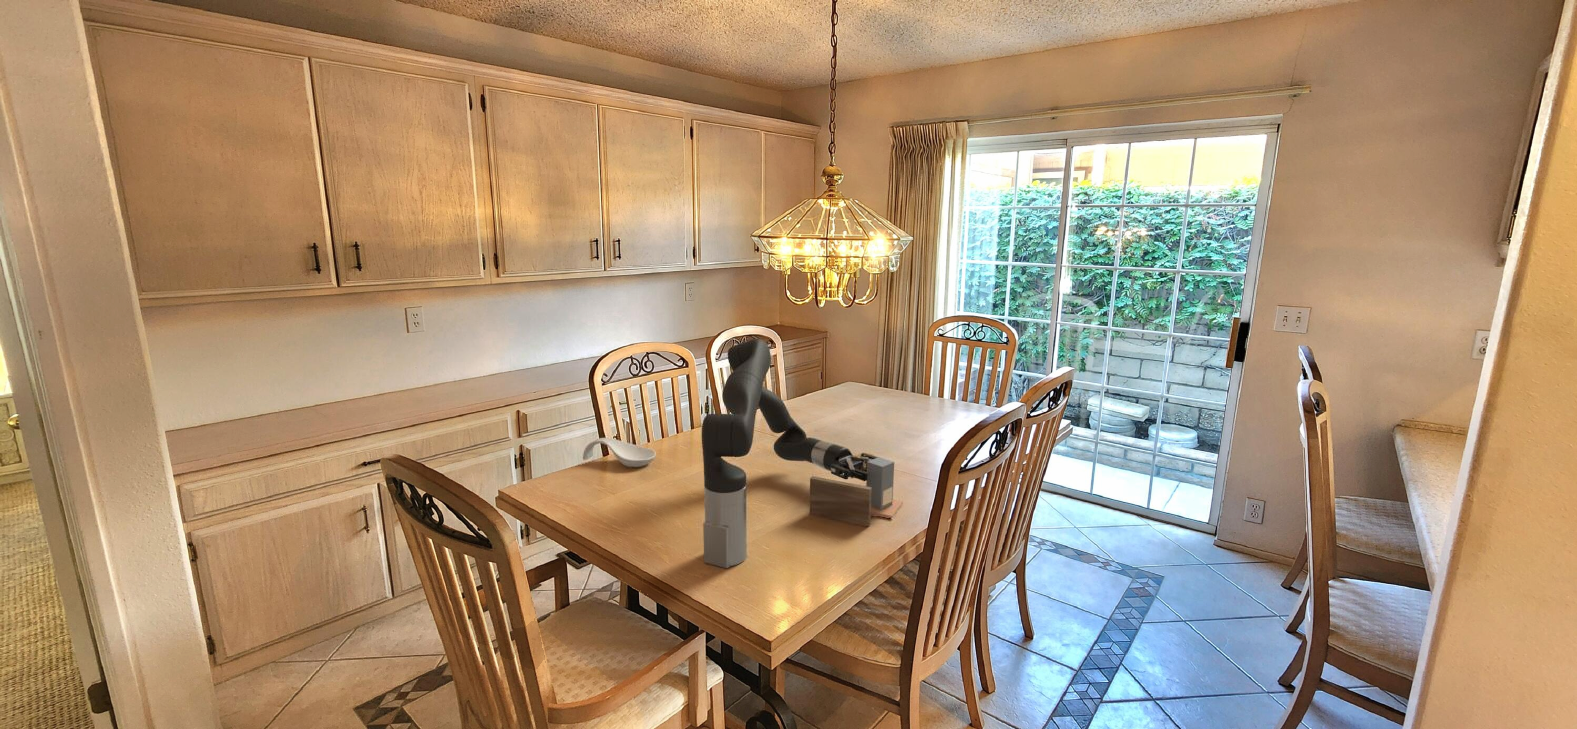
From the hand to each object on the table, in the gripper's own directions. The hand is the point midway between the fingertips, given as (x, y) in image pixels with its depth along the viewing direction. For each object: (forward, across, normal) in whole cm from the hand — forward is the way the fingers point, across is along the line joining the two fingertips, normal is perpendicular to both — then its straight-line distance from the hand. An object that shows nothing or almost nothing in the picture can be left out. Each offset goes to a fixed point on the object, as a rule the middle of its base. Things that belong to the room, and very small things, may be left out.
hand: (876, 473), depth 169 cm
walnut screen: (-2, -13, +10) cm, 16 cm away
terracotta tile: (+1, 0, +10) cm, 10 cm away
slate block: (+1, 0, +8) cm, 9 cm away
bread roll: (-20, +21, +10) cm, 31 cm away
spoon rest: (-76, -33, +10) cm, 83 cm away
